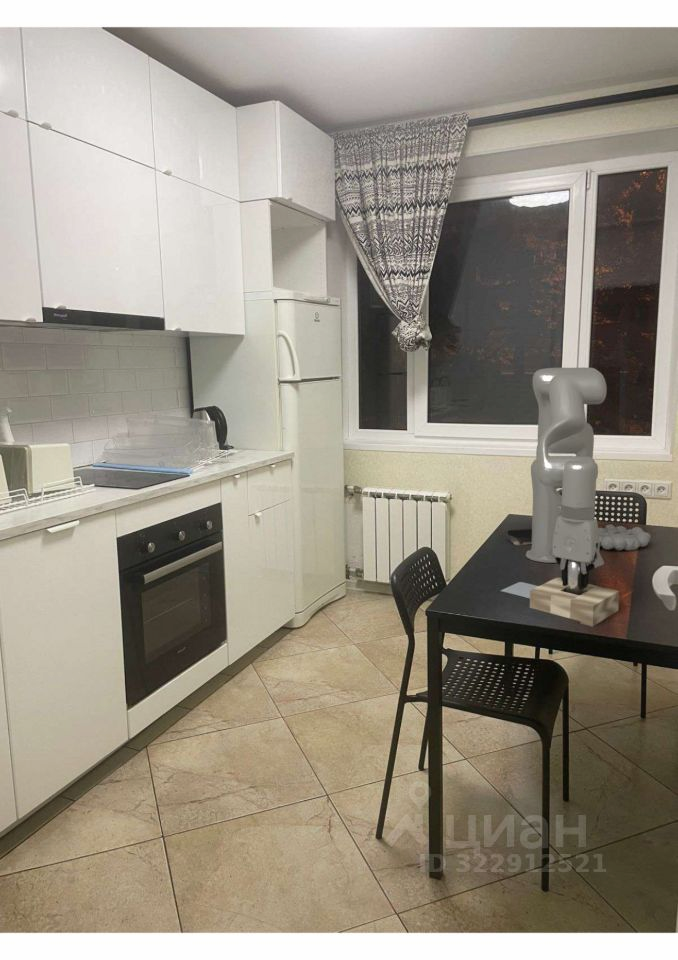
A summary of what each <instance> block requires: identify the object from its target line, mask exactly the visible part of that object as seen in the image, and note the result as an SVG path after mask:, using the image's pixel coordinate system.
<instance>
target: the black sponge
mask: <svg viewBox="0 0 678 960" xmlns="http://www.w3.org/2000/svg"><path fill="white" fill-rule="evenodd" d="M506 538H507V540H508V541H510V542H511V543H513V545H515V546H528V545H527V544H532V528H528V529H510V530H508V531H507V534H506Z"/></svg>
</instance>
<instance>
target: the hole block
mask: <svg viewBox="0 0 678 960" xmlns="http://www.w3.org/2000/svg"><path fill="white" fill-rule="evenodd" d="M537 586H538V587H536V588H534V589H532V590H530V598H529V608H530V609H532V610H533V609H534V610H536V611H540V612H545V613H549V614H552V615H556V616H560V617H563V618H567V619H571V620H575V621H577V623H578V624H581V625H585V626H589V627H594V626H596V625H597V624H599V623H601V622H602V621H603V620H606V619H607V618H608V617H611V616H612V615H614V614H615V613H617V612H618V611H619V606H620V605H619V603H620V590H617V589H613V588H608V587H605V586H604V587H603V586H599V585H595V584H590V583H588V586H587V587H586V588H584V589H582V594H581V595H575V594H571V593H567V585H566V586H563V581H562V577H559V576H558V577H554V578H553V579H551V580H549V581H546V582H545V583H543V584H541V585H537Z"/></svg>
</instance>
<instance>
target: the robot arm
mask: <svg viewBox="0 0 678 960" xmlns="http://www.w3.org/2000/svg"><path fill="white" fill-rule="evenodd" d="M532 390H533V393H534V396H535V398H536V401H537V404H538V405H537V406H538V421H537V445H536V450H535V451H536V453H535V454H536V459H534V460H533V461H532V463H531V464H530V477H531V486H532V513H531V514H532V518H531V521H532V522H531V529H532V545H531V548H530V550H527V551H526V552H525V553H526V554H525V557H526V558H527V559H529V560H531V561H535V562H540V563H546V564H549V563H550V564H552V563H554V564H555V563H557V564H558V565H559V568H560V570H561V578H562V581H563V586H566V585H567V568H568V560H573V561H578V562H581V573H580V574H579V585H578V588H579V589H580V590H582V589H584V588H586V587H587V586H588V584H589V582H590V581H589V579H590V578H589V577H590V572H591V571H593V570H594V569H595V568H598V567H599V568H600V567H601V566H604V564H605V561H604V560H603V557H602V555H601V553H600V547H599V529H598V528H599V526H598V525H599V524H598V519H596V518H595V511H596V495H597V494H596V492H597V478H598V474H599V466H598V463H596V461H595V459H593V458H594V448H595V447H594V446H595V435H594V430H593V427H592V425H591V424H590V423H588V422H587V418H586V411H585V405H600V404H602V403H604V401H605V400H606V397H607V393H608V392H607V391H608V390H607V382H606V378H605V377H604V375H603V374H602V372H600V371H599V370H598V369H596V368H594V367H548V368H546V367H545V368H540V369H537V370H536V371H535V372H534V374H533V376H532ZM549 454H558V455H549ZM559 454H560V455H559ZM562 454H567V455H562ZM568 454H570V455H568ZM571 454H572V455H571ZM573 454H574V455H575V456H573ZM557 489H561V494H560V492H559V491H558V490H557ZM592 561H593V562H592Z"/></svg>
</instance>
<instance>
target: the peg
mask: <svg viewBox="0 0 678 960" xmlns="http://www.w3.org/2000/svg"><path fill="white" fill-rule="evenodd" d="M580 573H581V562H578V561H573V560H568V568H567V593H571V594H575V595H581V594H582V590H580V589H579V588H578V585H579V574H580Z"/></svg>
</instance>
